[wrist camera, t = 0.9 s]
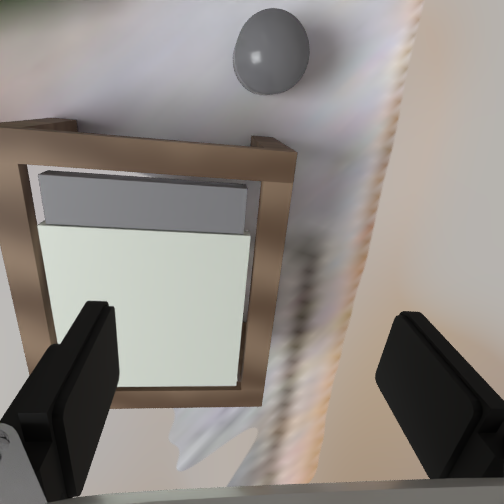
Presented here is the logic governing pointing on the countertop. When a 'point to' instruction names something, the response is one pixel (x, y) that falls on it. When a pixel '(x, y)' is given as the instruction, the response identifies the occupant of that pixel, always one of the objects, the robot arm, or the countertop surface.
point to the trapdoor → (151, 270)
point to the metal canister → (271, 52)
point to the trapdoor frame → (159, 162)
